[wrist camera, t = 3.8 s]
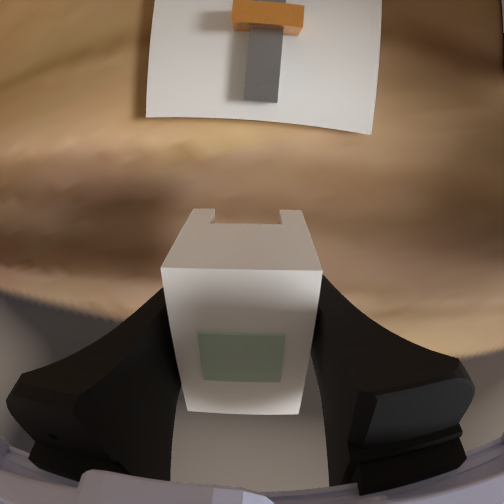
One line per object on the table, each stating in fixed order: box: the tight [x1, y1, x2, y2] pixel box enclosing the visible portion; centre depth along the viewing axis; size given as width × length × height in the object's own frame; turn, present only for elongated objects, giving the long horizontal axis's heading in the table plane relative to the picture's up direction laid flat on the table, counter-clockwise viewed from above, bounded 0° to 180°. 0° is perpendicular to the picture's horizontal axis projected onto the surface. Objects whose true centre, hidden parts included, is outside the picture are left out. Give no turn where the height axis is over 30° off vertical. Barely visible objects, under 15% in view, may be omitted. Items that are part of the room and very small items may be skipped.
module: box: [161, 209, 323, 414], centre depth 11 cm, size 4×6×5 cm, turn 179°
